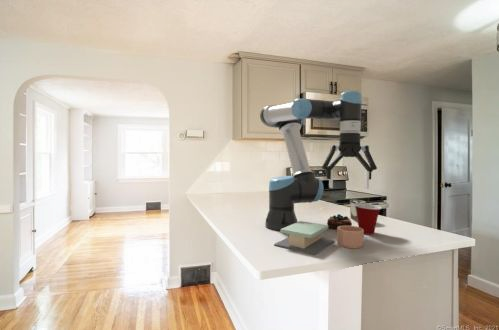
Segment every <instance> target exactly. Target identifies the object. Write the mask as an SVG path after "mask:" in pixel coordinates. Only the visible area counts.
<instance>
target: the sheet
mask: <svg viewBox="0 0 499 330" xmlns="http://www.w3.org/2000/svg"><path fill="white" fill-rule="evenodd" d="M328 229H329V228H328V225H327V224H323V223H322V224H321V223H316V222H315V223H314V222H309V221H301V220H299V221H298V222H297V223H294V224H292V225H289V226H287V227H285V228H282V229H280V230H279V231H280V233H281V234H287V235H289V234H291V235H297V236H302V237H307V238H312V237H314V236H316V235H318V234H319V233H320V234H321V233H323V232H325V231H326V230H328Z"/></svg>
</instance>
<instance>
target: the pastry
mask: <svg viewBox="0 0 499 330" xmlns="http://www.w3.org/2000/svg"><path fill="white" fill-rule="evenodd" d="M327 219H328V220H327V223H326V225H328V229H329V230H337V227H339V226H353V223H352V220H351V218H350V217H348V216H346V215H345V216H343V215H341V214H340V213H339V214H337V215H334V214H333V216H330V217H329V218H327Z"/></svg>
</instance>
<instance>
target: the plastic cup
mask: <svg viewBox="0 0 499 330" xmlns="http://www.w3.org/2000/svg"><path fill="white" fill-rule="evenodd" d="M354 205H355V208H356V213H357V220H358V223H357V225H358V227H360V228H362V229H363V230H364V235H374V234H375V230H376V226H377V222H378V217H379V215H380V214H379V213H380V211H381V210H382V207H381V206H378V205H374V204H369V203H366V204H354Z"/></svg>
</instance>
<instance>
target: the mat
mask: <svg viewBox="0 0 499 330" xmlns="http://www.w3.org/2000/svg"><path fill="white" fill-rule="evenodd" d="M333 243H335V240H334V239H330V238H325V237H321V233H319V234H318V235H316V236H314V237H312V238H307V237H302V236H297V235H291V234H288V237H286V238H284V239H282V240H280V241H277V242H276V243H274V245H273V246H274V247H279V248H282V249H283V248H284V249H288V250H293V251H296V252H301V253H305V254H309V255H315V256H316V255H317V254H319V253H320V252H322V251H324V249H326V248H327V247H329V246H330V245H331V244H333Z"/></svg>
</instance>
